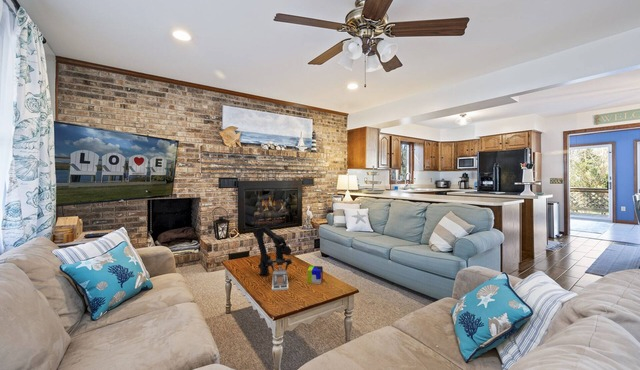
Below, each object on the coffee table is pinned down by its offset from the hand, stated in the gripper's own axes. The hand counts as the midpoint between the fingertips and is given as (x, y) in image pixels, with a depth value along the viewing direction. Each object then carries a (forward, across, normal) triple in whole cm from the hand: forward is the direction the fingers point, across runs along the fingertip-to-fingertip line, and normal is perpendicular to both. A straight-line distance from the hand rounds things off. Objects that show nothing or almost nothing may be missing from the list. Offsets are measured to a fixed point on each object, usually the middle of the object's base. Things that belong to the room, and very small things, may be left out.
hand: (279, 272), depth 213 cm
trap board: (+6, 0, -8) cm, 10 cm away
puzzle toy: (+6, +28, -8) cm, 29 cm away
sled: (+4, 0, -6) cm, 7 cm away
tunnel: (+4, 0, -11) cm, 12 cm away
